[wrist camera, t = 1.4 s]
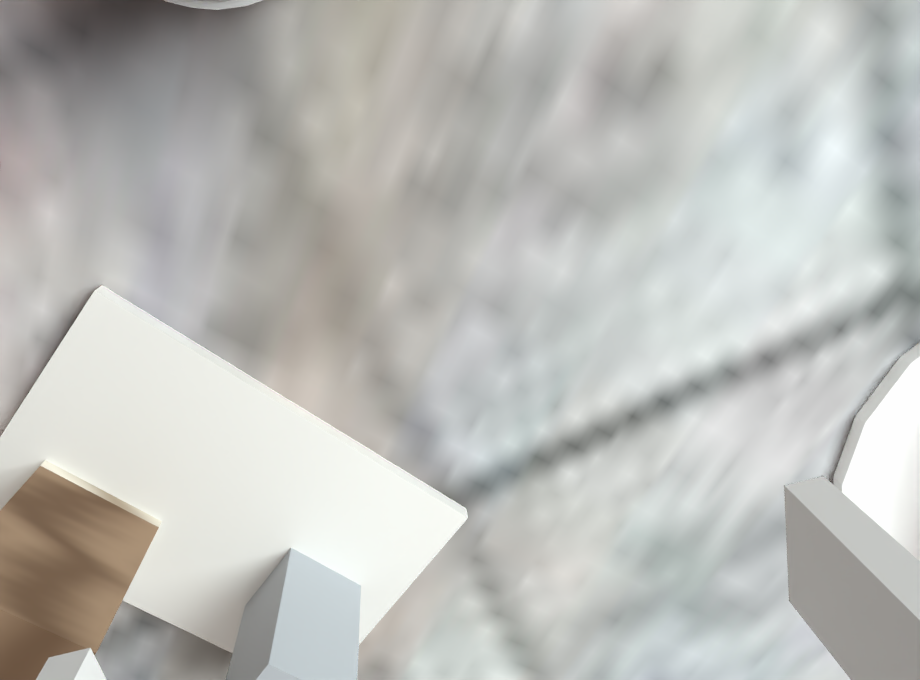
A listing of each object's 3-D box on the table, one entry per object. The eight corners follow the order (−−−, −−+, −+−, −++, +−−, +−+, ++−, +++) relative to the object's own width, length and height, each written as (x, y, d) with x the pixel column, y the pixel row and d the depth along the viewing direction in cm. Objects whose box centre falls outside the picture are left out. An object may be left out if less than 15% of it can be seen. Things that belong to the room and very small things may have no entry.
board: (-41, 506, 40) (-52, 516, 39) (102, 285, 37) (94, 290, 36) (317, 681, 47) (316, 694, 46) (466, 508, 44) (468, 517, 43)
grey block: (245, 605, 43) (211, 732, 35) (291, 547, 42) (268, 663, 34) (314, 640, 44) (299, 771, 36) (361, 585, 43) (355, 706, 35)
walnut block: (10, 512, 39) (-106, 646, 30) (45, 460, 39) (-63, 580, 29) (126, 570, 41) (51, 712, 32) (162, 521, 41) (96, 652, 31)
